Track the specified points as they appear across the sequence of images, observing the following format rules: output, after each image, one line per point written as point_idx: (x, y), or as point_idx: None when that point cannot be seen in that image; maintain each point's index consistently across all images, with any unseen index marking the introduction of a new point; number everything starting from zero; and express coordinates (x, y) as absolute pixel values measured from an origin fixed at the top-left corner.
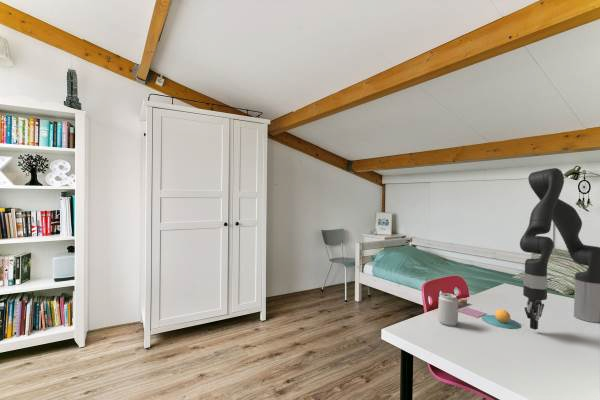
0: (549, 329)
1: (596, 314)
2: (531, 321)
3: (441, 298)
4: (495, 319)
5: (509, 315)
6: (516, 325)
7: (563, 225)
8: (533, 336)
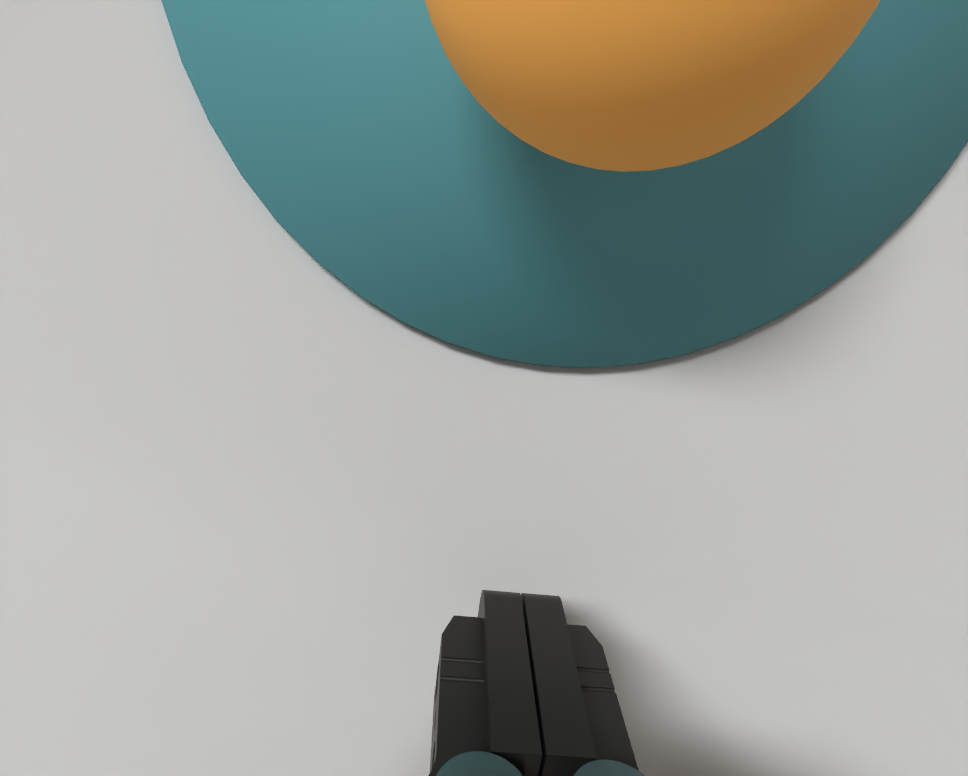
0: (888, 692)
1: None
2: (436, 745)
3: None
4: None
5: (635, 151)
6: (614, 298)
7: None
8: (299, 617)
